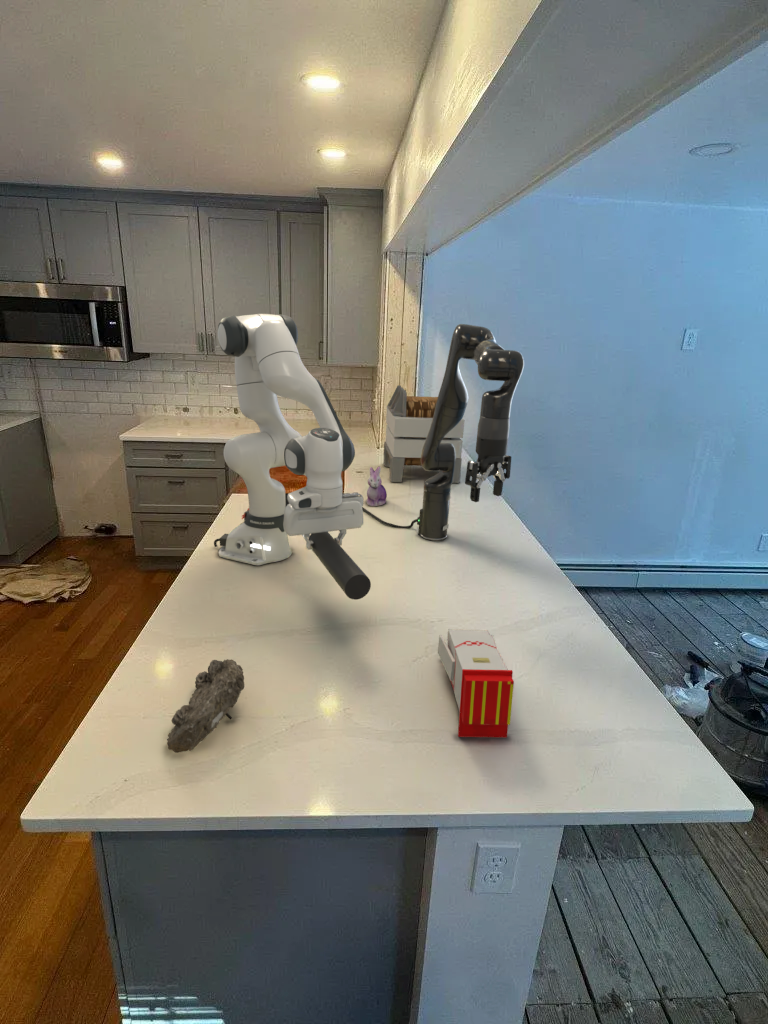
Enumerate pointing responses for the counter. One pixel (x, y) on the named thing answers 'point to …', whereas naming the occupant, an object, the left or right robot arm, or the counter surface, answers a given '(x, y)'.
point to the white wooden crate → (414, 433)
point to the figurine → (375, 489)
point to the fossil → (206, 705)
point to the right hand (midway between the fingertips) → (485, 498)
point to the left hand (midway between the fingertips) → (324, 546)
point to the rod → (340, 566)
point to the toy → (478, 682)
